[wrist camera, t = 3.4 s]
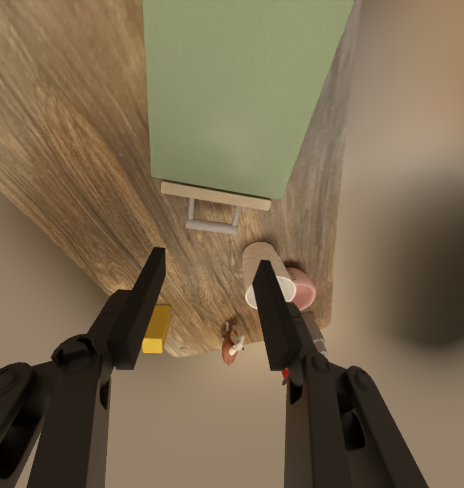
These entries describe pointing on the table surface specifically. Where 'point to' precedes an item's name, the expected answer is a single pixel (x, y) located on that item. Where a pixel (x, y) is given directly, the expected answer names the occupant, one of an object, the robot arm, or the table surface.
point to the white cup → (250, 267)
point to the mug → (302, 288)
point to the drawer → (214, 196)
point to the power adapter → (315, 333)
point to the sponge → (157, 330)
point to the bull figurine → (231, 344)
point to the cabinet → (235, 87)
